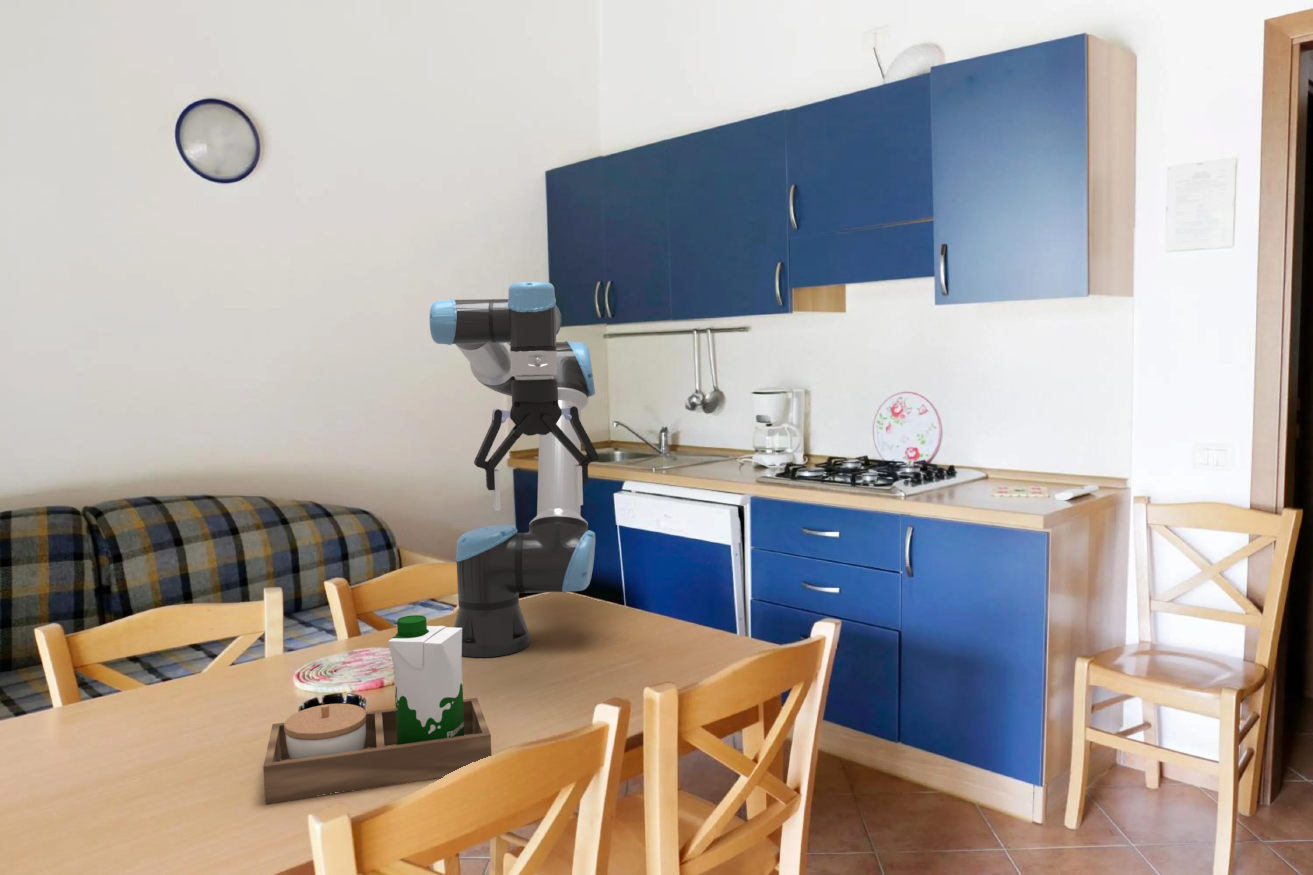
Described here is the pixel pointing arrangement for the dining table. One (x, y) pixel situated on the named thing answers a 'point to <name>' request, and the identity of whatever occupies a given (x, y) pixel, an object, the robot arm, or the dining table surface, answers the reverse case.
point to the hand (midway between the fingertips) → (538, 507)
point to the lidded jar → (325, 730)
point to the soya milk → (427, 680)
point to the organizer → (373, 758)
